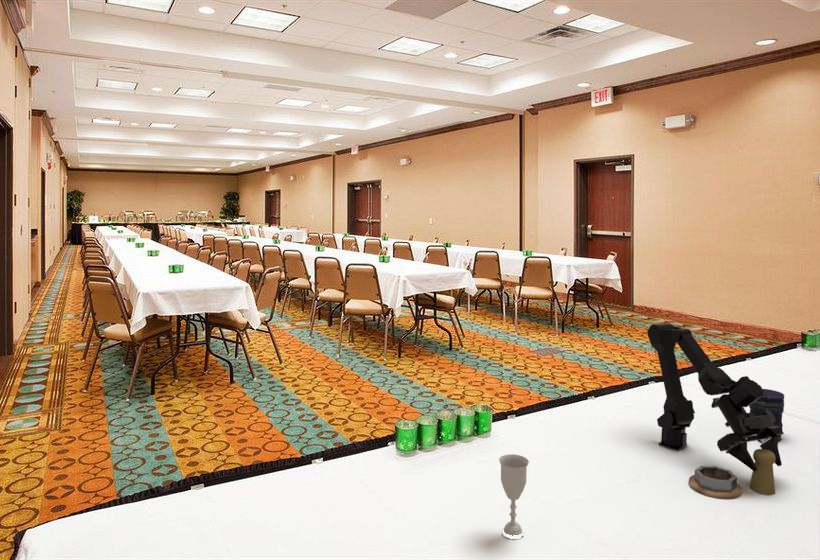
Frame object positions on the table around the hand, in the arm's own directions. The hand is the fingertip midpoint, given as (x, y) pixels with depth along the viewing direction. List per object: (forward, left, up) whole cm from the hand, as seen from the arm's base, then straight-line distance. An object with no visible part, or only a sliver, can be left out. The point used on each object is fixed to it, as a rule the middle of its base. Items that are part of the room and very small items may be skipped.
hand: (768, 468), depth 160 cm
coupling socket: (-10, -7, -7) cm, 14 cm away
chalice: (-32, -66, -7) cm, 74 cm away
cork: (-1, +1, -7) cm, 7 cm away
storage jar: (-14, +42, -7) cm, 44 cm away
